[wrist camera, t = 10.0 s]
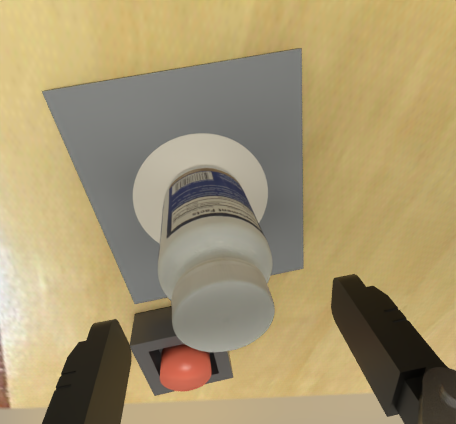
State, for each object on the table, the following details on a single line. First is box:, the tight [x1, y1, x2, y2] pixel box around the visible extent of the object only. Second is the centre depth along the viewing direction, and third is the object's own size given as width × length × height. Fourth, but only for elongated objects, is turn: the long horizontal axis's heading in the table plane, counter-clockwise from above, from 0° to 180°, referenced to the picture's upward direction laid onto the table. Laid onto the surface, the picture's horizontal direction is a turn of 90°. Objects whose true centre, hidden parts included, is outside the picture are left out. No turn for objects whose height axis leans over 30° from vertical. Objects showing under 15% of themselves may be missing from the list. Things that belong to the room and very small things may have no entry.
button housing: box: [130, 306, 233, 396], centre depth 25 cm, size 7×7×3 cm
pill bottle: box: [158, 166, 275, 352], centre depth 15 cm, size 5×5×10 cm
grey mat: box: [42, 48, 303, 304], centre depth 19 cm, size 14×16×1 cm
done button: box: [160, 344, 211, 391], centre depth 23 cm, size 4×4×2 cm
